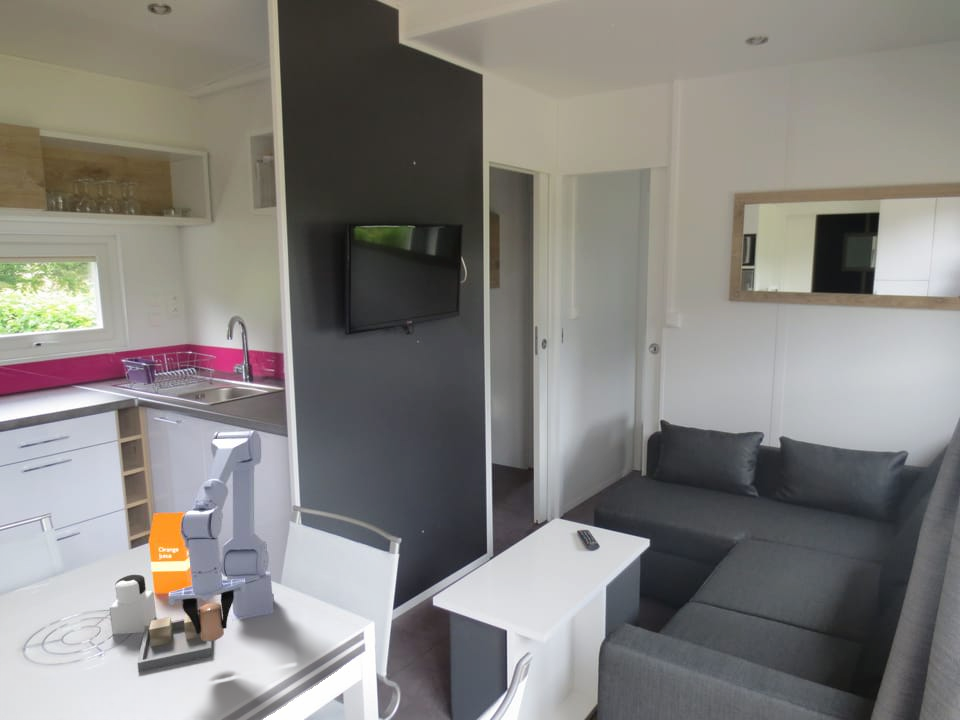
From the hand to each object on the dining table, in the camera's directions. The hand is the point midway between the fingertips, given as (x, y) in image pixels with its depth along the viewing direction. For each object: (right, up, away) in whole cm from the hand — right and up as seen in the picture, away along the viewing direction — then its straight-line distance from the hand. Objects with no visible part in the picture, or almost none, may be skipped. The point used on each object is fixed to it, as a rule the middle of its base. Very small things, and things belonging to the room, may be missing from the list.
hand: (211, 628), depth 140 cm
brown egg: (0, -1, 0) cm, 2 cm away
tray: (-11, -7, +9) cm, 16 cm away
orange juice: (-23, -4, +37) cm, 44 cm away
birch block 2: (-9, -6, +13) cm, 17 cm away
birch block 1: (-15, -7, +11) cm, 20 cm away
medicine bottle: (-25, -7, +17) cm, 31 cm away
